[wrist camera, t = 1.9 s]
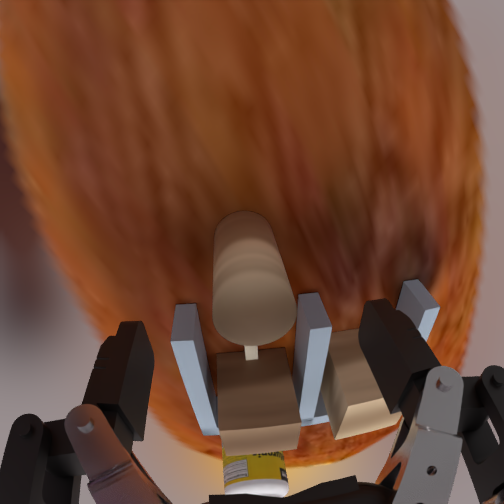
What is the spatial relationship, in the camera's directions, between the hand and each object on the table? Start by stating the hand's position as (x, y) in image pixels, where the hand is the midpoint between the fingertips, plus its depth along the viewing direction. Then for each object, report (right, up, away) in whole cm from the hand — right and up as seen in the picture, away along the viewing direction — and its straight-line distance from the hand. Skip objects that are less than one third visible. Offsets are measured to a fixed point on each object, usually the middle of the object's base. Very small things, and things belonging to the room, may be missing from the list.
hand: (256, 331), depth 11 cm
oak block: (+7, -5, +11) cm, 14 cm away
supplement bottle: (0, -14, +15) cm, 21 cm away
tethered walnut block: (0, -1, +8) cm, 8 cm away
